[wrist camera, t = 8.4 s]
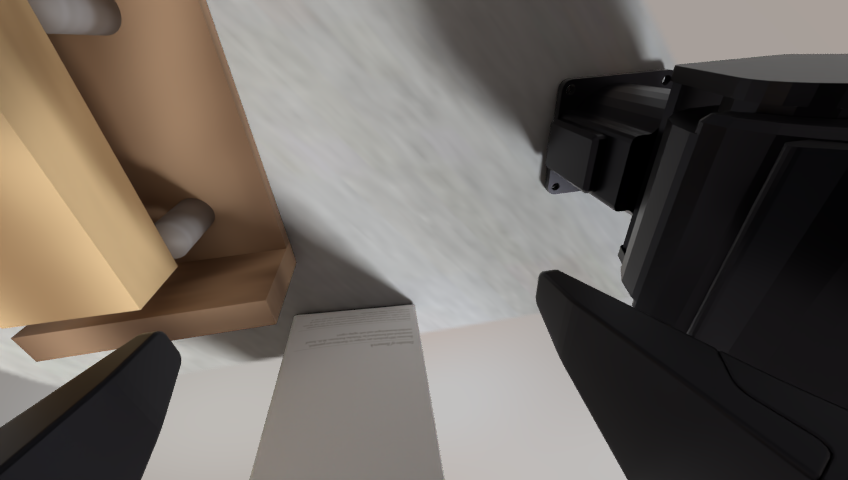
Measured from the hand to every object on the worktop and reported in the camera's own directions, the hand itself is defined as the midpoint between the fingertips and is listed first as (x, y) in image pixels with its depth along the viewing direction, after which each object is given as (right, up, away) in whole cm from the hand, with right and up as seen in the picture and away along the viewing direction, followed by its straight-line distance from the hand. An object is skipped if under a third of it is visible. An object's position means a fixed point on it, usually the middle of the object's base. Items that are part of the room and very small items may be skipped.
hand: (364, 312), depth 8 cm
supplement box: (-4, -7, +18) cm, 20 cm away
